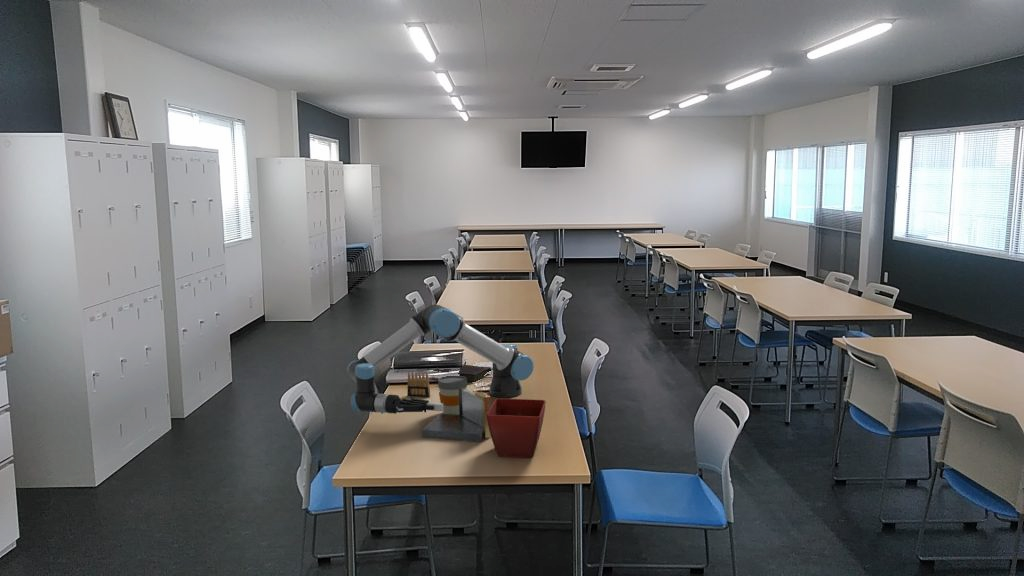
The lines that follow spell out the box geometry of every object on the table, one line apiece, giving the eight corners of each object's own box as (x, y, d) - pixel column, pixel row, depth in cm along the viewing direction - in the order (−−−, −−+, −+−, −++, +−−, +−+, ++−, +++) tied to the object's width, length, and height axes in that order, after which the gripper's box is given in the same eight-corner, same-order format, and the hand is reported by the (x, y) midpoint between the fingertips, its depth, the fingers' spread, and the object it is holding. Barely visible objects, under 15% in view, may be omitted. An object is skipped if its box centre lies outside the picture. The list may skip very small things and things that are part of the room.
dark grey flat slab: (440, 420, 290) (440, 413, 289) (495, 424, 283) (495, 417, 283) (422, 437, 271) (421, 429, 270) (480, 441, 264) (480, 434, 264)
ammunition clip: (430, 396, 324) (429, 371, 322) (429, 397, 322) (427, 372, 320) (408, 395, 326) (407, 370, 324) (407, 396, 324) (406, 371, 322)
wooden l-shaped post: (482, 431, 275) (481, 391, 273) (491, 437, 269) (490, 396, 266) (476, 433, 273) (474, 392, 271) (484, 438, 267) (483, 397, 265)
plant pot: (540, 462, 243) (539, 416, 241) (487, 460, 246) (485, 414, 244) (546, 442, 262) (546, 399, 260) (496, 440, 265) (495, 398, 263)
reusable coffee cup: (474, 412, 299) (473, 378, 297) (452, 420, 290) (451, 385, 288) (454, 406, 307) (453, 373, 305) (433, 413, 298) (431, 380, 296)
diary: (449, 371, 370) (449, 362, 370) (491, 375, 360) (491, 366, 359) (431, 379, 353) (431, 370, 353) (474, 384, 343) (474, 374, 342)
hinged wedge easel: (458, 414, 286) (457, 388, 285) (464, 413, 288) (463, 387, 286) (482, 427, 270) (482, 400, 268) (489, 426, 272) (488, 398, 270)
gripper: (395, 407, 288) (448, 411, 282) (381, 417, 276) (437, 421, 270) (394, 390, 287) (448, 393, 281) (380, 399, 275) (436, 403, 269)
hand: (442, 407), depth 276 cm, fingers closed
